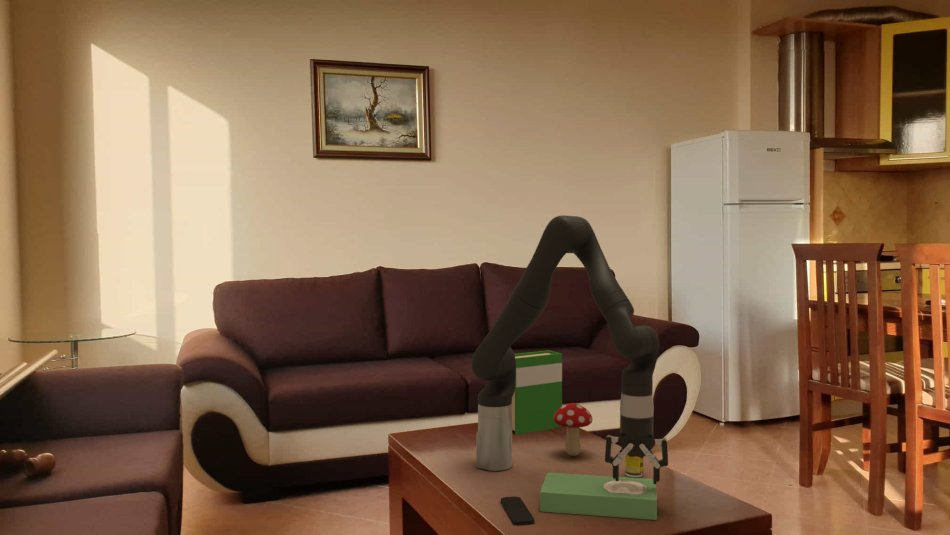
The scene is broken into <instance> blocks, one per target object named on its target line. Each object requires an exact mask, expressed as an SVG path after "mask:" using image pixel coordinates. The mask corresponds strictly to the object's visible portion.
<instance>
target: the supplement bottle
mask: <svg viewBox="0 0 950 535" xmlns="http://www.w3.org/2000/svg"><path fill="white" fill-rule="evenodd" d="M624 474H625V476H626V477H628V478H642V477H643V476H644V457H643V458H642V457H637V456H635V457H629V456H628V455H626V456H625V457H624Z"/></svg>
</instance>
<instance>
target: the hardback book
mask: <svg viewBox="0 0 950 535" xmlns="http://www.w3.org/2000/svg"><path fill="white" fill-rule="evenodd" d="M514 355H515V360H516V377H515V391H514V394H513V397H512V431H514V435H515V436H517V435H518V434H519V435H523V434H529V433H530V434H531V433H534V432H540V431H541V432H542V431H547V430H551V429H557V428H558V429H559V428H562V427H563V426H560V425H558V424H556V423H555V422H554V415H555V413H556V411H557V410H558V409H559V408H561V407H562V406H563V353H560V352H558V351H557V352H556V351H553V350H549V349H548V350H539V351H531V352H521V353H514Z"/></svg>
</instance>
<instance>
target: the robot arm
mask: <svg viewBox="0 0 950 535" xmlns="http://www.w3.org/2000/svg"><path fill="white" fill-rule="evenodd" d="M566 254H574V255H575V257H576V258H577V259H578V260H579V262H581V264H582V265H583V267H584V269H585V271H586V274H587V278H588V284H589V291H590V294H591V297H592V299H593V301H594V303H595V305H596V306H597V308H598V309H599V311H600V313H601V314H602V316H603V317H604V319H605V321H606V323H607V327H608V330H609V334H610V336H611V340H612V343H613V345H614V347H615V349H616V350H617V351H618V353H619V354H620V355H621V356H622V357H624V358H626V359H629V360H630V362H629V364H628V366H626V367H625V368H624V369H623V370H622V372H621V394H620V395H621V396H620V401H619V404H620V405H619V435H618V436H613V435H611V434H607V435H606V439H605V440H606V441H605V452H604V462H606V463H607V464H608V463H609V464H611V465H612V477H613V479H616V481H618V482H619V477H620V462H621V461H622V460H624V459H625V456H626V455H628V456H629V457H635V456H637V457H642V458H643V459H644V458H645V457H646V458H647V459H648V460H649V461H650V462H651V464H652V465H653V467H652V468H653V469H652V470H653V474H652V476H653V477H652V479H653V484H656V485H657V483H659V482H660V480H661V479H660V476H661V475H660V473H661V471H660V470H661V468H662V467H667V466H669V454H668V450H669V449H668V439H667V438H666V437H662V438H655V437H654V412H655V409H654V396H653V387H654V386H653V385H654V384H653V377H654V375H653V374H654V372H655V369H656V366H657V361H658V356H659V351H660V339H659V335H658V333H657V331H656V330H655V329H654V328H653V327H652V326H649V325H646V324H645V325H637V326H634V323H632V319H631V318H633V316H634V314H635V309H634V306H633V304H632V302H631V301H630V299H629V298H628V296H627V294H626V293H625V292H624V290H623V288H622V287H621V286H620V283H619V281H618V280H617V279H616V277H615V275H614V273H613V271H612V269H611V268H610V265H609V263H608V261H607V258H606V256H605V254H604V252H603V250H602V248H601V245H600V243H599V240H598V239H597V236H596V233H595V231H594V229H593V227H592V225H591V224H590V222H589V221H588V220H587V219H586V218H584V217H581V216H577V215H562V214H561V215H557V216H555V217H553V218H552V219H550V221H549V222H548V223H547V225H546V226H545V229H544V230H543V233H542V235H541V237H540V240H539V242H538V244H537V246H536V248H535V251H534V253H533V255H532V256H531V259H530V261H529V263H528V265H527V267H526V268H525V270H524V272H523V273H522V275H521V277H520V279H519V281H518V282H517V284H516V285H515V287H514V289H513V290H512V292H511V294H510V295H509V297H508V299H507V301H506V303H505V305H504V307H503V308H502V309H501V312H500V313H499V315H498V317H497V318H496V320H495V322H494V324H493V326H492V328H491V329H490V330H489V331H488V333H487V334H486V336H485V337H484V338H483V340H482V342H481V343H480V344H478V347H477V348H476V349H475V351H474V353H473V355H472V359H471V371H472V373H473V375H474V376H475V377H476V378H477V379H479V380H481V381H487V382H486V385H485V386H484V387H483V388H482V389H481V390H480V391H479V392H478V396H477V405H478V406H477V432H476V433H475V434H476V435H475V438H476V440H475V441H476V442H475V444H476V450H475V454H476V456H475V457H476V463H475V465H476V468H477V469H482V470H485V471H490V472H491V471H492V472H498V471H501V472H502V471H505V470H510V469H511V468H512V466H513V430H512V397H513V394H514V391H515V377H516V360H515V355H514V354H515V353H514V351H513V349H512V345H513V344H515V342H516V341H517V340H518V339H519V338H521V336H523V334H525V332H527V331H528V330H529V329H530V328H531V327H532V326H534V324H536V323H537V320H539V318H540V317H541V315H542V314H543V312H544V310H545V309H546V307H547V305H548V303H549V301H550V298H551V293H552V283H553V282H552V279H553V275H554V273H555V270H556V268H557V267H558V266H559V263H560V262H561V260H562V259H563V258H564V256H565V255H566ZM616 443H618V445H619V446H620V447H621V448H620V449H619V451H618V452H617V454H616V455H615V456H612V455H611V453H612V447H614V446H615V444H616ZM655 445H656V446H657V447H658V449H660V450H661V457H662V458H661V459H658V458H657V456H656V454H655V453H654V451H653V450H652V449H653V448H654V447H655Z"/></svg>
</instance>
